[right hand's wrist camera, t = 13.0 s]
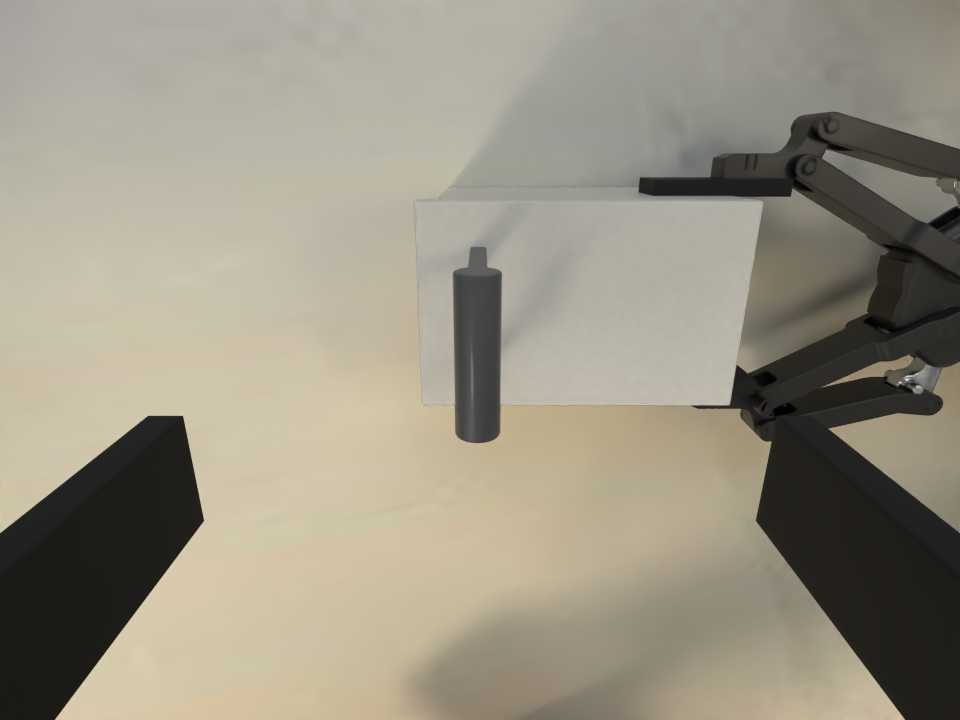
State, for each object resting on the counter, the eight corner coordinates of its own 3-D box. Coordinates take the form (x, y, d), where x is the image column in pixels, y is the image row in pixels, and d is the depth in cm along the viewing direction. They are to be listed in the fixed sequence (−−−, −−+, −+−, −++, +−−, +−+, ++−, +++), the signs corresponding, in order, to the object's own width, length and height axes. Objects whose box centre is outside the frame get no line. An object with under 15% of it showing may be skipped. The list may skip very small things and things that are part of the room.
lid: (423, 398, 28) (403, 486, 21) (416, 199, 25) (388, 219, 17) (722, 398, 28) (809, 486, 21) (755, 199, 25) (872, 219, 17)
